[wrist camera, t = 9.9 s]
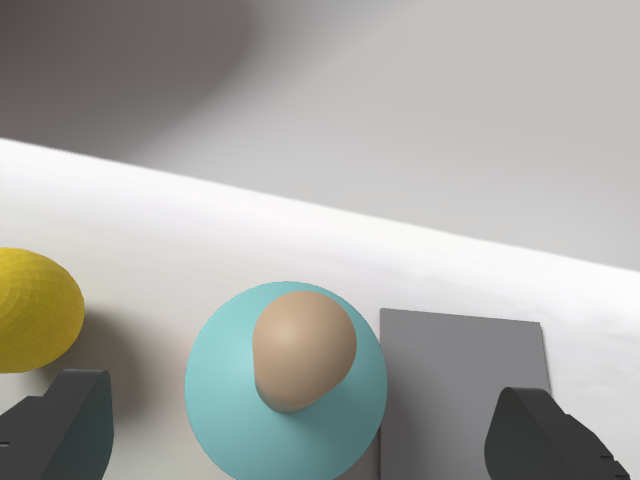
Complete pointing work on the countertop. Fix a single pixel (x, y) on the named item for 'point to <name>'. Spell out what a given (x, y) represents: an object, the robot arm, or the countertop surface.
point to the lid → (286, 384)
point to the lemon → (36, 310)
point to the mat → (449, 389)
